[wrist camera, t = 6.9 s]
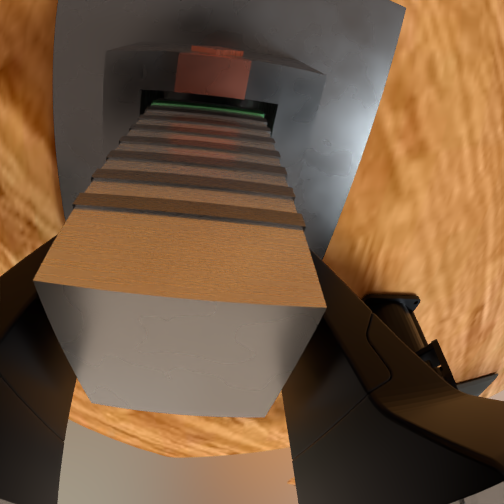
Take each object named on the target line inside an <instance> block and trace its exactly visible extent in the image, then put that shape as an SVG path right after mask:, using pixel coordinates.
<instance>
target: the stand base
mask: <svg viewBox="0 0 504 504" xmlns="http://www.w3.org/2000/svg"><path fill="white" fill-rule="evenodd" d="M405 10H406V8H405V7H403V6H401V5H399V4H396V3H394V2H392V1H390V0H58V6H57V14H56V24H55V37H54V54H53V115H54V133H55V146H56V157H57V167H58V175H59V183H60V190H61V197H62V204H63V210H64V216H65V221H66V220H67V219H68V217H69V216H70V214H71V212H72V211H73V206H72V204H73V202H74V201H75V199H76V198H77V196H78V195H79V194H80V193H85V191H86V190H87V188H88V187H89V185H90V184H91V177H92V175H93V174H94V172H95V171H96V170H97V168H98V169H101V168H102V167H103V165H104V164H105V163H106V156H107V155H108V154H109V153H110V151H111V150H115V149H116V148H117V147H118V145H119V140H120V139H121V137H122V136H126V135H127V134H128V133H129V128H130V127H131V125H132V124H136V123H137V122H138V117H139V116H140V115H144V113H145V109H146V108H147V107H150V106H151V103H152V101H153V100H157V99H174V100H186V101H198V102H208V103H217V104H225V105H233V106H240V107H247V108H254V109H260V110H261V112H263V113H264V119H266V120H267V128H270V130H271V135H270V136H271V138H274V140H275V143H276V144H275V150H276V151H279V153H280V156H281V159H280V164H281V167H285V169H286V172H287V178H286V181H287V184H288V187H292V188H293V191H294V194H295V197H296V198H295V201H294V204H295V207H296V210H297V213H300V214H302V217H303V219H304V222H305V225H306V228H305V231H304V235H305V238H306V241H307V244H308V247H309V248H310V249H311V250H312V251H313V252H314V253H315V254H316V255H317V256H318V257H319V258H320V259H321V260H322V259H323V257H324V255H325V252H326V250H327V247H328V245H329V242H330V240H331V237H332V235H333V232H334V230H335V227H336V225H337V222H338V219H339V217H340V214H341V212H342V209H343V206H344V204H345V201H346V198H347V196H348V193H349V190H350V188H351V185H352V182H353V179H354V177H355V174H356V171H357V168H358V166H359V163H360V160H361V157H362V154H363V151H364V148H365V145H366V142H367V140H368V137H369V134H370V131H371V128H372V125H373V122H374V118H375V115H376V112H377V109H378V106H379V103H380V100H381V96H382V93H383V90H384V87H385V83H386V80H387V77H388V73H389V70H390V66H391V63H392V59H393V56H394V52H395V49H396V45H397V41H398V38H399V34H400V30H401V26H402V22H403V18H404V14H405Z"/></svg>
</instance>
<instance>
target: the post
mask: <svg viewBox="0 0 504 504" xmlns="http://www.w3.org/2000/svg"><path fill="white" fill-rule="evenodd" d="M270 135H271V130H270V128H267V120H266V119H264V113H263V112H261V110H260V109H254V108H247V107H240V106H233V105H225V104H217V103H208V102H198V101H186V100H174V99H157V100H153V101H152V103H151V106H150V107H147V108H146V109H145V113H144V115H140V116H139V117H138V122H137V123H136V124H132V125H131V127H130V128H129V133H128V134H127V135H126V136H122V137H121V139H120V140H119V145H118V147H117V148H116V149H115V150H111V151H110V153H109V154H108V155H107V156H106V163H105V164H104V165H103V167H102V168H101V169H98V168H97V170H96V171H95V172H94V174H93V175H92V177H91V184H90V185H89V187H88V188H87V190H86V191H85V193H80V194H79V195H78V196H77V198H76V199H75V201H74V202H73V204H72V206H73V211H72V212H71V214H70V216H69V217H68V219H67V220H66V222H65V224H64V225H63V227H62V229H61V230H60V232H59V234H58V235H57V237H56V239H55V241H54V242H53V244H52V246H51V248H50V249H49V251H48V253H47V255H46V257H45V258H44V260H43V262H42V264H41V266H40V268H39V270H38V272H37V273H36V275H35V277H34V279H33V282H34V284H35V287H36V290H37V292H38V295H39V297H40V300H41V302H42V305H43V307H44V310H45V312H46V314H47V317H48V319H49V321H50V324H51V326H52V328H53V330H54V333H55V335H56V337H57V339H58V341H59V343H60V345H61V347H62V349H63V351H64V353H65V355H66V357H67V359H68V361H69V363H70V365H71V367H72V369H73V371H74V373H75V375H76V376H77V378H78V380H79V382H80V384H81V385H82V387H83V389H84V391H85V392H86V394H87V396H88V398H89V399H90V401H91V403H95V404H101V405H106V406H113V407H119V408H126V409H133V410H141V411H149V412H158V413H168V414H180V415H194V416H213V417H265V416H266V414H267V413H268V411H269V409H270V408H271V406H272V405H273V403H274V401H275V400H276V398H277V396H278V395H279V393H280V391H281V390H282V388H283V386H284V385H285V383H286V381H287V379H288V378H289V376H290V374H291V373H292V371H293V369H294V367H295V366H296V364H297V362H298V360H299V358H300V357H301V355H302V353H303V351H304V350H305V348H306V346H307V344H308V342H309V340H310V339H311V337H312V335H313V333H314V331H315V329H316V327H317V326H318V324H319V322H320V320H321V318H322V316H323V314H324V312H325V310H326V308H327V306H326V303H325V300H324V296H323V293H322V289H321V286H320V283H319V279H318V276H317V273H316V270H315V266H314V263H313V260H312V257H311V254H310V250H309V247H308V244H307V241H306V238H305V235H304V231H305V228H306V225H305V222H304V219H303V217H302V214H300V213H297V210H296V207H295V204H294V201H295V198H296V197H295V194H294V191H293V188H292V187H288V184H287V181H286V178H287V172H286V169H285V167H281V164H280V159H281V156H280V153H279V151H276V150H275V144H276V143H275V140H274V138H271V136H270Z"/></svg>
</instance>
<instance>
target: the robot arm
mask: <svg viewBox="0 0 504 504" xmlns="http://www.w3.org/2000/svg"><path fill="white" fill-rule="evenodd" d="M56 237H57V235H56V236H55V237H53V238H52V239H50V240H49V241H48V242H46V243H45V244H43V245H42V246H40V247H39V248H38V249H36V250H35V251H34V252H32V253H31V254H29V255H28V256H27V257H25V258H24V259H23V260H21V261H20V262H19V263H17V264H16V265H15V266H13V267H12V268H11V269H9V270H8V271H7V272H6V273H4V274H3V275H2V276H1V277H0V504H57V500H58V490H59V479H60V471H61V463H62V455H63V448H64V442H63V441H64V440H65V434H66V428H67V423H68V417H69V412H70V407H71V402H72V397H73V392H74V388H75V383H76V379H77V376H76V375H75V373H74V371H73V369H72V367H71V365H70V363H69V361H68V359H67V357H66V355H65V353H64V351H63V349H62V347H61V345H60V343H59V341H58V339H57V337H56V335H55V333H54V330H53V328H52V326H51V324H50V321H49V319H48V317H47V314H46V312H45V310H44V307H43V305H42V302H41V300H40V297H39V295H38V292H37V290H36V287H35V284H34V282H33V279H34V277H35V275H36V273H37V272H38V270H39V268H40V266H41V264H42V262H43V260H44V258H45V257H46V255H47V253H48V251H49V249H50V248H51V246H52V244H53V242H54V241H55V239H56ZM309 250H310V254H311V257H312V260H313V263H314V266H315V270H316V273H317V276H318V279H319V283H320V286H321V289H322V293H323V296H324V300H325V303H326V306H327V308H326V310H325V312H324V314H323V316H322V318H321V320H320V322H319V324H318V326H317V327H316V329H315V331H314V333H313V335H312V337H311V339H310V340H309V342H308V344H307V346H306V348H305V350H304V351H303V353H302V355H301V357H300V358H299V360H298V362H297V364H296V366H295V367H294V369H293V371H292V373H291V374H290V376H289V378H288V379H287V381H286V383H285V385H284V386H283V388H282V396H283V403H284V409H285V416H286V422H287V429H288V435H289V442H290V448H291V455H292V459H293V461H292V463H293V469H294V476H295V483H296V489H297V495H298V503H299V504H504V401H499V400H493V399H488V398H483V397H478V396H473V395H469V394H466V393H463V392H461V391H459V390H458V388H457V385H456V383H455V380H454V378H453V375H452V373H451V371H450V368H449V366H448V364H447V361H446V359H445V357H444V354H443V352H442V350H441V348H440V346H439V343H438V341H437V339H435V340H434V341H432V342H431V343H430V344H429V345H428V343H427V341H426V339H425V337H424V334H423V332H422V330H421V328H420V326H419V323H418V321H417V319H416V317H415V315H414V313H413V311H414V310H415V309H416V307H417V306H418V304H419V303H420V299H419V297H418V296H399V295H374V294H369V295H366V296H364V298H363V299H362V300H361V299H360V298H359V297H358V296H357V295H356V294H355V293H354V292H353V291H352V290H351V289H350V288H349V287H348V286H347V285H346V284H345V283H344V282H343V281H342V280H341V279H340V278H339V277H338V276H337V275H336V274H335V273H334V272H333V271H332V270H331V269H330V268H329V267H328V266H327V265H326V264H325V263H324V262H323V261H322V260H321V259H320V258H319V257H318V256H317V255H316V254H315V253H314V252H313V251H312V250H311V249H310V248H309ZM439 365H441V367H437V366H439Z"/></svg>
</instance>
